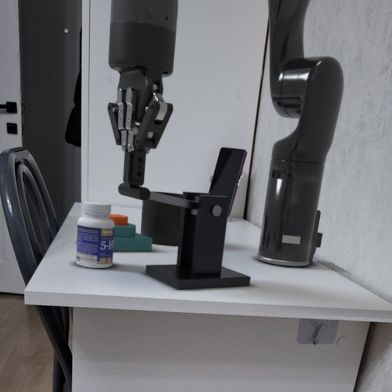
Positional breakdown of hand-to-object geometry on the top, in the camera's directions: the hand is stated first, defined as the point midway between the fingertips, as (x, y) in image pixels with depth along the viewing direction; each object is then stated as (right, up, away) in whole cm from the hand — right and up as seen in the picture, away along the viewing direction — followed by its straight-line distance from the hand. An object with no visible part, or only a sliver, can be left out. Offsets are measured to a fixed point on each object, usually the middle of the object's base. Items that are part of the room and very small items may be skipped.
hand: (133, 184), depth 67 cm
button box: (-6, -2, +29) cm, 30 cm away
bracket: (+8, -10, +10) cm, 17 cm away
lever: (+5, -2, +4) cm, 6 cm away
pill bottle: (-7, -8, +13) cm, 17 cm away
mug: (+1, +1, +41) cm, 41 cm away
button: (-6, +1, +28) cm, 28 cm away
